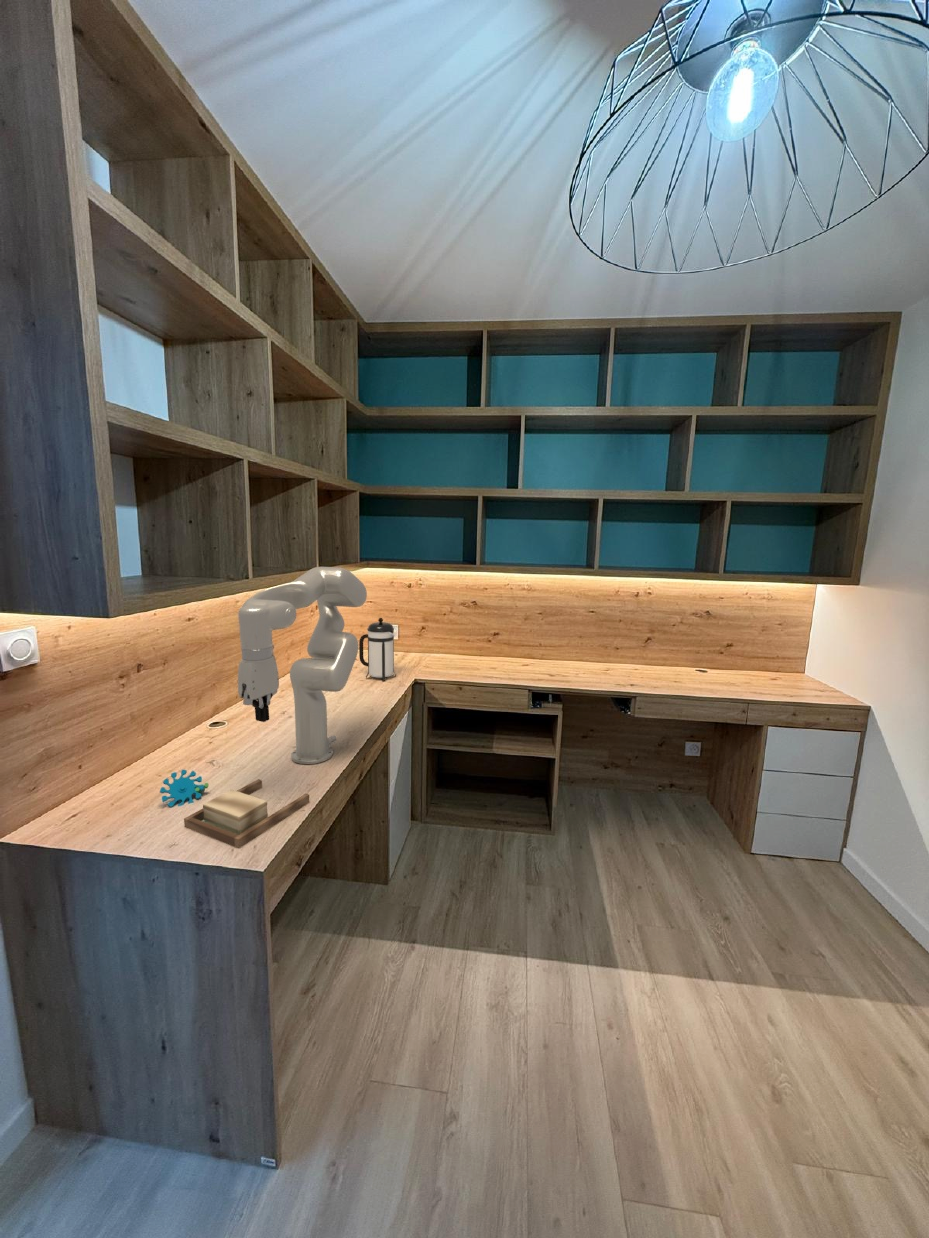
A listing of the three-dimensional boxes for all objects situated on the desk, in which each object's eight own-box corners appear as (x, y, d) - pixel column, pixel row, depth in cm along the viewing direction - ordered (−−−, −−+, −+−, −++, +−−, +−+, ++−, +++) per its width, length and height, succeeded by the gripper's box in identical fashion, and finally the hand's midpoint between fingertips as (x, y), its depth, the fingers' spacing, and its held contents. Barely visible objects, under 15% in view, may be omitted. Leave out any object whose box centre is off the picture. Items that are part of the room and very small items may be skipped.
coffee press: (393, 672, 259) (393, 614, 254) (398, 681, 244) (398, 619, 239) (359, 674, 254) (358, 615, 249) (361, 683, 239) (361, 620, 234)
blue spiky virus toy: (157, 808, 125) (162, 769, 130) (157, 816, 129) (162, 778, 134) (207, 804, 130) (209, 767, 135) (206, 812, 134) (208, 775, 140)
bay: (259, 789, 138) (258, 779, 138) (309, 805, 131) (309, 794, 130) (184, 830, 119) (183, 818, 118) (239, 851, 111) (238, 839, 111)
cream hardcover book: (232, 807, 127) (231, 789, 126) (268, 819, 122) (267, 800, 121) (204, 823, 120) (202, 804, 119) (240, 837, 115) (239, 817, 114)
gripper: (267, 645, 138) (272, 708, 141) (222, 658, 124) (229, 728, 128) (289, 648, 135) (293, 712, 139) (245, 662, 121) (251, 733, 125)
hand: (262, 720), depth 133 cm, fingers closed
